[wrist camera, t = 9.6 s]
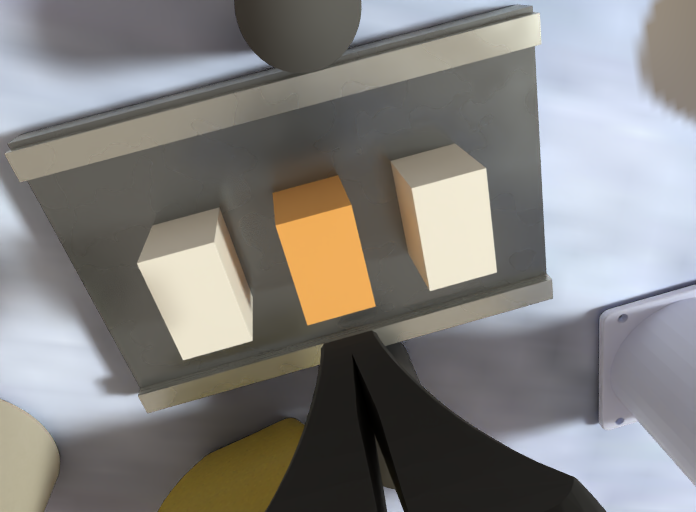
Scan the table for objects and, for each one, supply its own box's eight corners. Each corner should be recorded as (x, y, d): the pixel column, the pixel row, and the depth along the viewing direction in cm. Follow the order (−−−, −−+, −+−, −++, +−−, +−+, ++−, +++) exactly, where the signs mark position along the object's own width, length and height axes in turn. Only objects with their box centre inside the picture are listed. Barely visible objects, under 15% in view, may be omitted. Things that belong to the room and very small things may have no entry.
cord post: (317, -62, 17) (346, -82, 12) (338, 35, 19) (372, 56, 13) (227, -39, 17) (216, -49, 12) (254, 57, 19) (256, 86, 13)
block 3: (455, 143, 20) (486, 168, 17) (467, 237, 22) (497, 272, 19) (390, 161, 20) (411, 188, 17) (408, 253, 22) (429, 291, 19)
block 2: (338, 175, 20) (351, 204, 17) (360, 266, 22) (375, 306, 19) (272, 192, 20) (275, 225, 17) (300, 283, 22) (307, 325, 19)
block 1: (219, 207, 20) (214, 242, 17) (252, 296, 21) (252, 340, 19) (152, 225, 20) (137, 263, 17) (191, 313, 21) (183, 360, 19)
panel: (517, 4, 19) (539, 6, 18) (535, 282, 25) (553, 302, 23) (21, 134, 19) (0, 147, 17) (155, 389, 24) (149, 416, 23)
